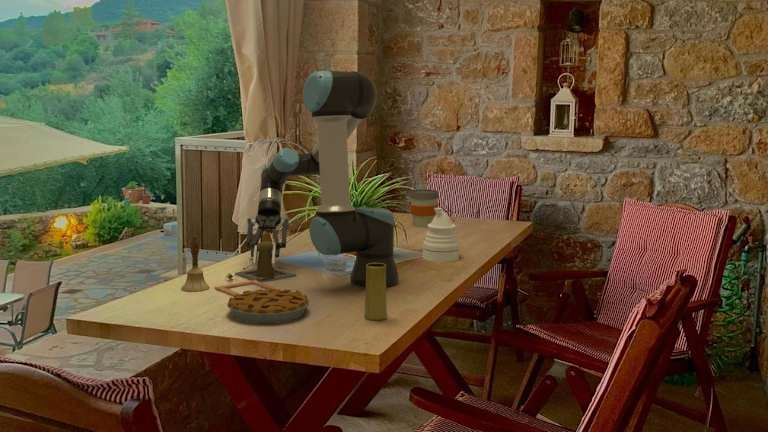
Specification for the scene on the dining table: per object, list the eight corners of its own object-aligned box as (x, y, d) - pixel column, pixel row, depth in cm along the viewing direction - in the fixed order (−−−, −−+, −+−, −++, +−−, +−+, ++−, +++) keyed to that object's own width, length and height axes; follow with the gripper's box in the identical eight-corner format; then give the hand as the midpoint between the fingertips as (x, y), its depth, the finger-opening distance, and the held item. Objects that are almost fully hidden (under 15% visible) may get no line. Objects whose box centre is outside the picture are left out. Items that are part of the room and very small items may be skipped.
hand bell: (214, 286, 244) (213, 234, 241) (200, 293, 236) (198, 239, 233) (191, 283, 246) (189, 232, 244) (175, 290, 239) (173, 237, 236)
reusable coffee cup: (442, 224, 352) (442, 190, 350) (431, 229, 341) (432, 194, 338) (415, 222, 357) (416, 188, 355) (404, 226, 346) (405, 192, 343)
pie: (240, 301, 229) (240, 284, 228) (316, 304, 226) (316, 287, 226) (216, 324, 207) (216, 305, 206) (300, 327, 205) (300, 308, 204)
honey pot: (440, 263, 278) (442, 212, 275) (415, 257, 287) (416, 207, 284) (466, 258, 286) (467, 208, 283) (440, 252, 295) (441, 203, 292)
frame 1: (280, 291, 239) (280, 289, 239) (239, 298, 230) (239, 296, 230) (255, 281, 250) (255, 279, 249) (214, 289, 240) (214, 287, 240)
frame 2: (296, 276, 257) (296, 274, 257) (258, 283, 248) (258, 281, 248) (272, 268, 268) (272, 266, 267) (235, 274, 258) (235, 272, 258)
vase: (363, 314, 217) (363, 262, 214) (386, 313, 217) (386, 262, 215) (364, 320, 211) (365, 267, 208) (388, 320, 211) (388, 267, 209)
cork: (271, 278, 254) (271, 244, 252) (253, 277, 255) (252, 243, 254) (277, 273, 260) (277, 240, 258) (260, 272, 261) (259, 239, 259)
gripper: (298, 212, 270) (293, 271, 257) (243, 211, 270) (236, 271, 256) (296, 198, 264) (292, 258, 250) (240, 198, 264) (233, 258, 250)
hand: (263, 264), depth 253 cm, fingers closed on cork, 5 cm apart
